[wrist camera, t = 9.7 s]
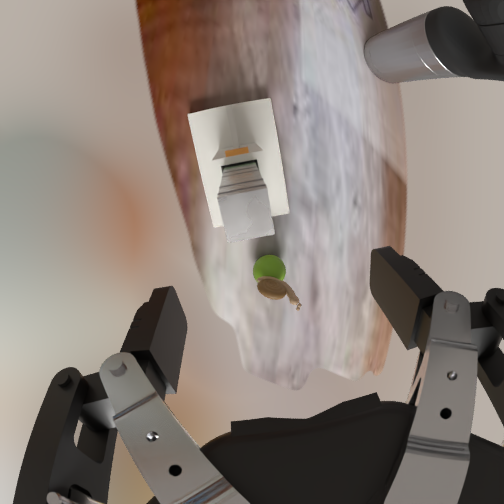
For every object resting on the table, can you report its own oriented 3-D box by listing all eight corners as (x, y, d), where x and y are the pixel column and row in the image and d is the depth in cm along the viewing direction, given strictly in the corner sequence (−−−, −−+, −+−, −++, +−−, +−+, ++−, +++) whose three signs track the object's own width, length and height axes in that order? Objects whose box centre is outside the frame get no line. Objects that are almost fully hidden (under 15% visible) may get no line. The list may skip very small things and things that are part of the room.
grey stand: (189, 114, 38) (168, 111, 25) (268, 99, 37) (284, 87, 25) (214, 223, 45) (207, 264, 33) (287, 209, 45) (307, 245, 33)
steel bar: (225, 161, 33) (216, 197, 17) (252, 156, 33) (267, 187, 17) (230, 186, 34) (227, 243, 19) (257, 182, 34) (275, 234, 19)
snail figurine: (282, 280, 51) (294, 322, 40) (248, 273, 50) (252, 316, 39) (292, 254, 49) (307, 293, 38) (256, 246, 48) (263, 284, 37)
